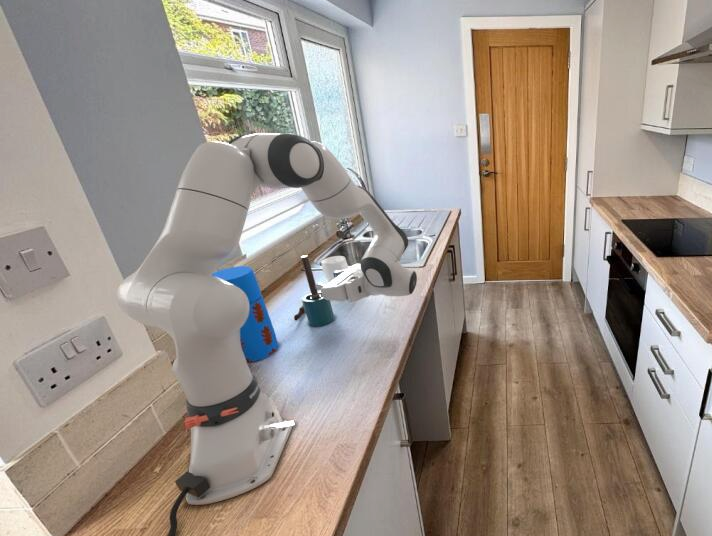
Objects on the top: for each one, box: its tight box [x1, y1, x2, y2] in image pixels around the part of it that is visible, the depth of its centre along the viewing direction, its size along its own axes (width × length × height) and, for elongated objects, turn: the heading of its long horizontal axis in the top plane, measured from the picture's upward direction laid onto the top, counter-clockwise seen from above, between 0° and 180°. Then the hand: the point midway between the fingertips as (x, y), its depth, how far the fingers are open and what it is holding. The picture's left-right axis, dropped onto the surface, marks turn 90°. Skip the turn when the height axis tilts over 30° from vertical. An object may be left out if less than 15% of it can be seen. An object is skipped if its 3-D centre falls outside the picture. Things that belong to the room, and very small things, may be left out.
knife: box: [293, 304, 306, 322], centre depth 140 cm, size 18×2×3 cm, turn 11°
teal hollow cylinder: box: [301, 290, 335, 327], centre depth 133 cm, size 8×8×9 cm
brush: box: [300, 255, 322, 300], centre depth 130 cm, size 3×3×22 cm
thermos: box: [212, 265, 279, 363], centre depth 114 cm, size 11×11×25 cm
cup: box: [320, 255, 349, 283], centre depth 155 cm, size 9×9×12 cm
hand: (325, 279), depth 127 cm, fingers open, 8 cm apart
